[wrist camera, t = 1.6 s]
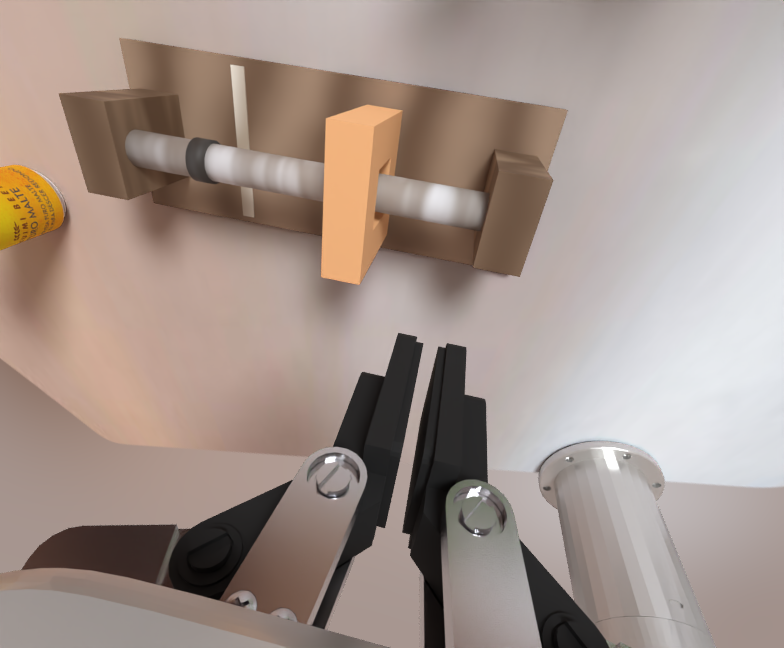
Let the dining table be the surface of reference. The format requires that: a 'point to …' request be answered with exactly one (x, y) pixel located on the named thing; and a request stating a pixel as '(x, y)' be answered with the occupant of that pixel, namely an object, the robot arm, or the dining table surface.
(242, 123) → the pipe stand
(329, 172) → the collar
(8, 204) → the beer can
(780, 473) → the dining table surface
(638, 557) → the robot arm
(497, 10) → the dining table surface
